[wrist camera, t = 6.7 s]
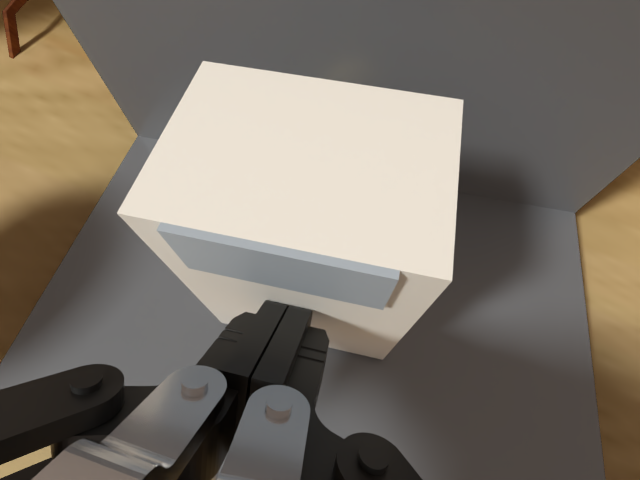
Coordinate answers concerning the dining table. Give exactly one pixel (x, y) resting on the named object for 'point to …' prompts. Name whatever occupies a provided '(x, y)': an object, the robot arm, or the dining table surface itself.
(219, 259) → the white box
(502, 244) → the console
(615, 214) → the dining table surface
